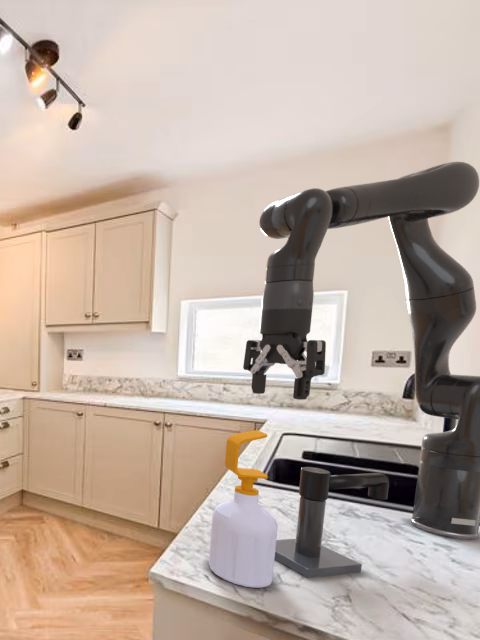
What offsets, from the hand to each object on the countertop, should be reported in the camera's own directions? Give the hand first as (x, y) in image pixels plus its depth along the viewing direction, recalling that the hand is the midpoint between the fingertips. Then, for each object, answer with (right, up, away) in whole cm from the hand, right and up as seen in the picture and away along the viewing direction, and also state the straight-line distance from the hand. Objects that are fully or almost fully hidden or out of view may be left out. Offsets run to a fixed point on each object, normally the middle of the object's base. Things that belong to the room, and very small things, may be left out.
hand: (277, 396), depth 79 cm
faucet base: (+4, -30, -2) cm, 30 cm away
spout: (+10, -19, -2) cm, 22 cm away
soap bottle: (-12, -30, -7) cm, 33 cm away
